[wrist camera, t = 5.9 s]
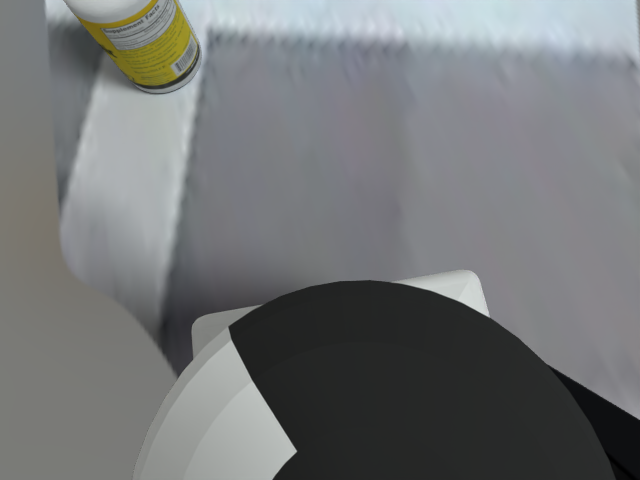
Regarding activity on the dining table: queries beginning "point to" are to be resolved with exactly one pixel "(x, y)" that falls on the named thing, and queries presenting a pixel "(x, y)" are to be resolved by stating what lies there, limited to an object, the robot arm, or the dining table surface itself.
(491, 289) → the dining table surface
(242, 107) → the dining table surface
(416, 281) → the medicine bottle
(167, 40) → the supplement bottle
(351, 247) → the dining table surface
